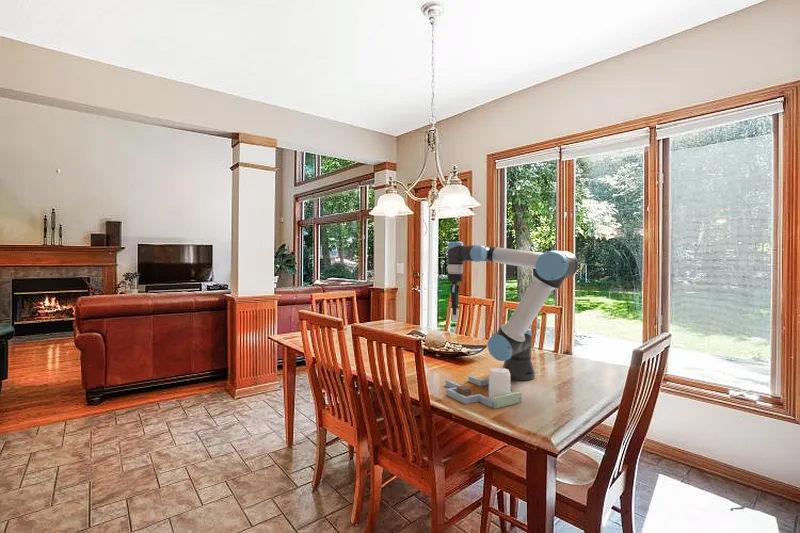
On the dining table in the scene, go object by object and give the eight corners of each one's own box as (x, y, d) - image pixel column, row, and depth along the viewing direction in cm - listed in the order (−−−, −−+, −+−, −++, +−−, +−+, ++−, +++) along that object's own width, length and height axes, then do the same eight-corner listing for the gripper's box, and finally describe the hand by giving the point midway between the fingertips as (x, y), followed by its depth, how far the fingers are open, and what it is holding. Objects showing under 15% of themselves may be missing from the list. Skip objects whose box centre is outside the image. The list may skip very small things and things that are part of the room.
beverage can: (484, 398, 156) (484, 368, 155) (500, 395, 159) (500, 365, 159) (497, 405, 148) (498, 373, 148) (514, 402, 152) (514, 371, 152)
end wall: (492, 408, 145) (492, 397, 145) (519, 401, 152) (519, 391, 152) (494, 409, 144) (494, 398, 144) (521, 402, 151) (521, 392, 151)
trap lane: (433, 388, 167) (433, 382, 167) (481, 378, 181) (481, 373, 180) (480, 412, 141) (480, 405, 141) (533, 399, 154) (533, 393, 154)
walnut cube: (456, 396, 156) (456, 386, 156) (464, 395, 158) (464, 385, 158) (462, 399, 153) (462, 389, 153) (470, 398, 155) (470, 388, 155)
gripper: (449, 272, 200) (449, 318, 200) (445, 273, 187) (445, 323, 188) (464, 272, 198) (463, 319, 198) (461, 273, 185) (460, 323, 186)
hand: (454, 321), depth 193 cm, fingers closed
